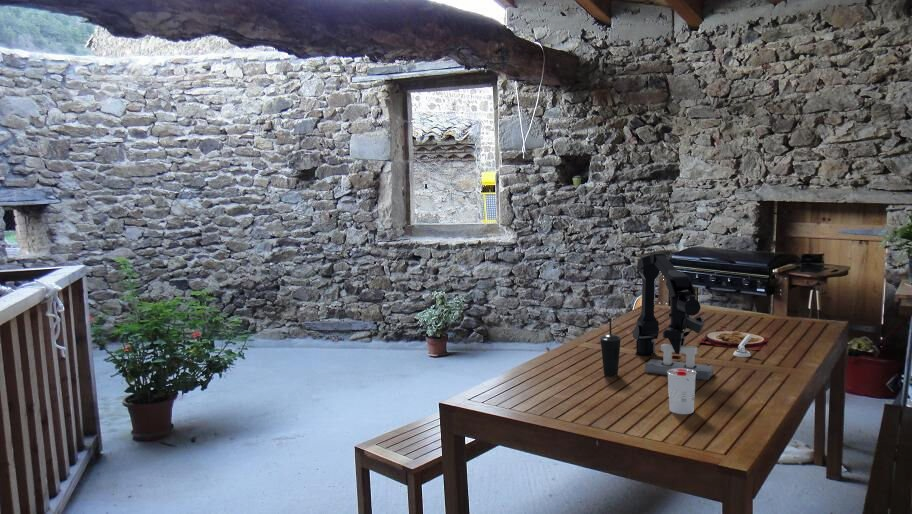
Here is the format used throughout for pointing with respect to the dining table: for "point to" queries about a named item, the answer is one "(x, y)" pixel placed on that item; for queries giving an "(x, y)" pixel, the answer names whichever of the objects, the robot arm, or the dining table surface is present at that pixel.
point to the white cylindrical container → (681, 390)
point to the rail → (659, 368)
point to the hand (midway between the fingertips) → (678, 353)
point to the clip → (687, 350)
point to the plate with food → (733, 339)
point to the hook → (743, 348)
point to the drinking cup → (610, 352)
